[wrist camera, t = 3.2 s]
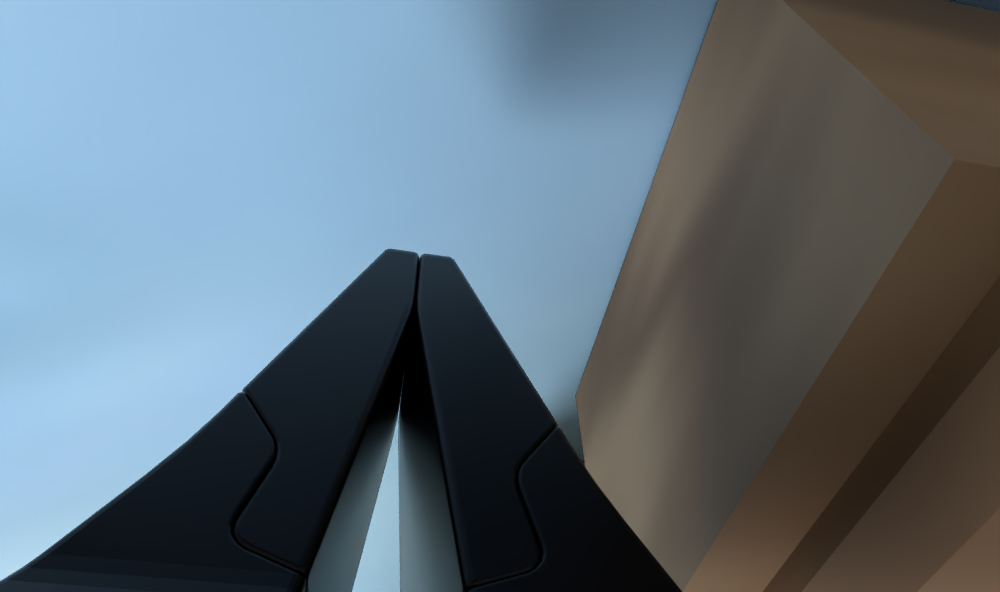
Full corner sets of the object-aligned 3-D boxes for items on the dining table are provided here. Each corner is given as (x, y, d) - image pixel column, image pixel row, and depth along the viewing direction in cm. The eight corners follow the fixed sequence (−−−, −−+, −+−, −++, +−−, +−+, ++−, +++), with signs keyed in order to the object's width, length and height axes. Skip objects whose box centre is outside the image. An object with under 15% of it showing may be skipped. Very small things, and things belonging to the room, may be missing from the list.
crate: (951, 442, 15) (1159, 760, 11) (575, 395, 14) (621, 727, 9) (1268, 68, 10) (1904, 349, 6) (733, -44, 9) (986, 188, 5)
